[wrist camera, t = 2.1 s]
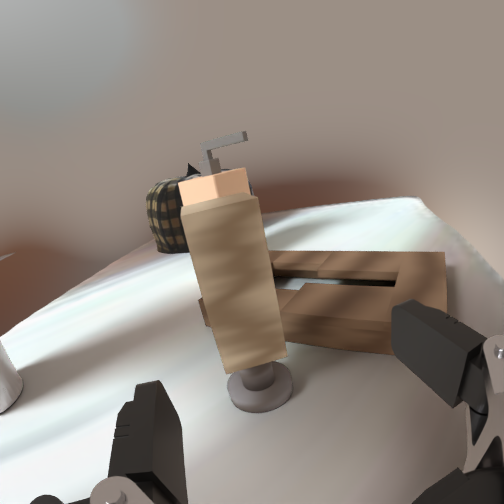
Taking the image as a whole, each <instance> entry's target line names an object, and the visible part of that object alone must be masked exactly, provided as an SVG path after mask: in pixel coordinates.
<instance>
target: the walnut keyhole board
mask: <svg viewBox="0 0 504 504" xmlns="http://www.w3.org/2000/svg"><path fill="white" fill-rule="evenodd" d="M268 253H269V258H270V263H271V268H272V274H273V277H274V276H283V277H302V278H322V279H344V280H369V281H396V284H395V287H380V286H357V285H336V284H318V283H305V284H304V285H303V286H302V287H301V289H300V290H288V289H275V290H276V295H277V300H278V306H279V311H280V317H281V322H282V328H283V333H284V339H285V341H288V342H294V343H301V344H307V345H314V346H321V347H328V348H335V349H343V350H351V351H360V352H369V353H379V354H389V355H395V354H394V352H393V350H392V347H391V311H392V308H393V307H394V306H395V305H398V304H400V303H402V302H404V301H407V300H409V299H415V300H416V301H418V302H420V303H421V304H423V305H425V306H429V307H432V308H436V309H440V310H442V311H443V312H445V313H447V283H446V265H445V252H388V251H268ZM198 301H199V304H200V308H201V311H202V314H203V318H204V321H205V324H206V326H209V327H211V325H210V321H209V318H208V315H207V311H206V308H205V305H204V301H203V298H201V299H199V300H198Z"/></svg>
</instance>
